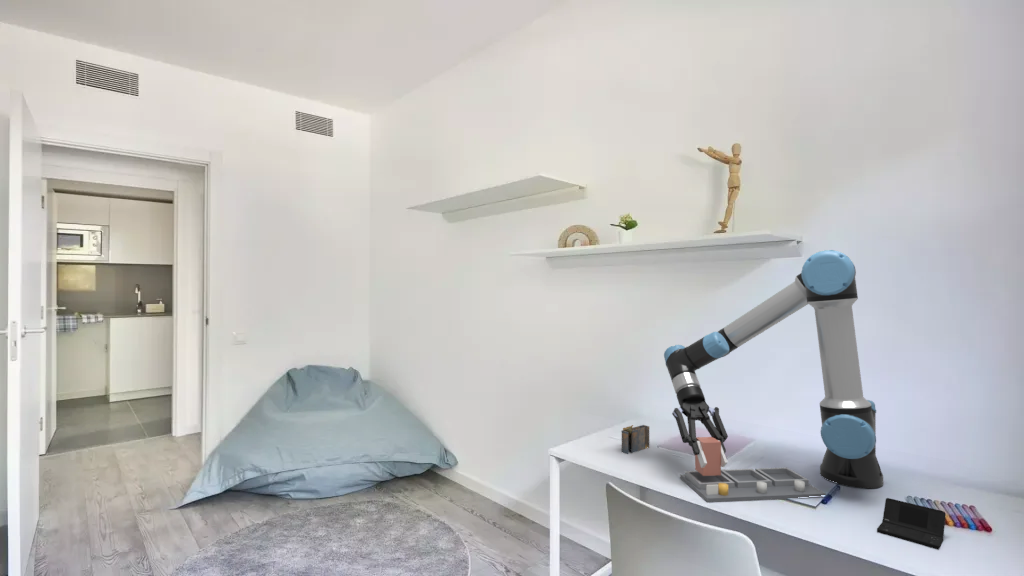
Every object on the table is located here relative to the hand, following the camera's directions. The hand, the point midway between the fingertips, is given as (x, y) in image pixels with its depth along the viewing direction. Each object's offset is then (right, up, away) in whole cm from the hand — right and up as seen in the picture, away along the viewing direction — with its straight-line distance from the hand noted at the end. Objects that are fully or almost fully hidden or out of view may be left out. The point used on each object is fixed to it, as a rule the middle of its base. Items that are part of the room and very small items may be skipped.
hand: (714, 464), depth 140 cm
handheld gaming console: (+34, -7, -24) cm, 43 cm away
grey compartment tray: (+11, -7, +2) cm, 13 cm away
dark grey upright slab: (-13, -8, +35) cm, 38 cm away
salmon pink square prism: (0, -3, +4) cm, 5 cm away
